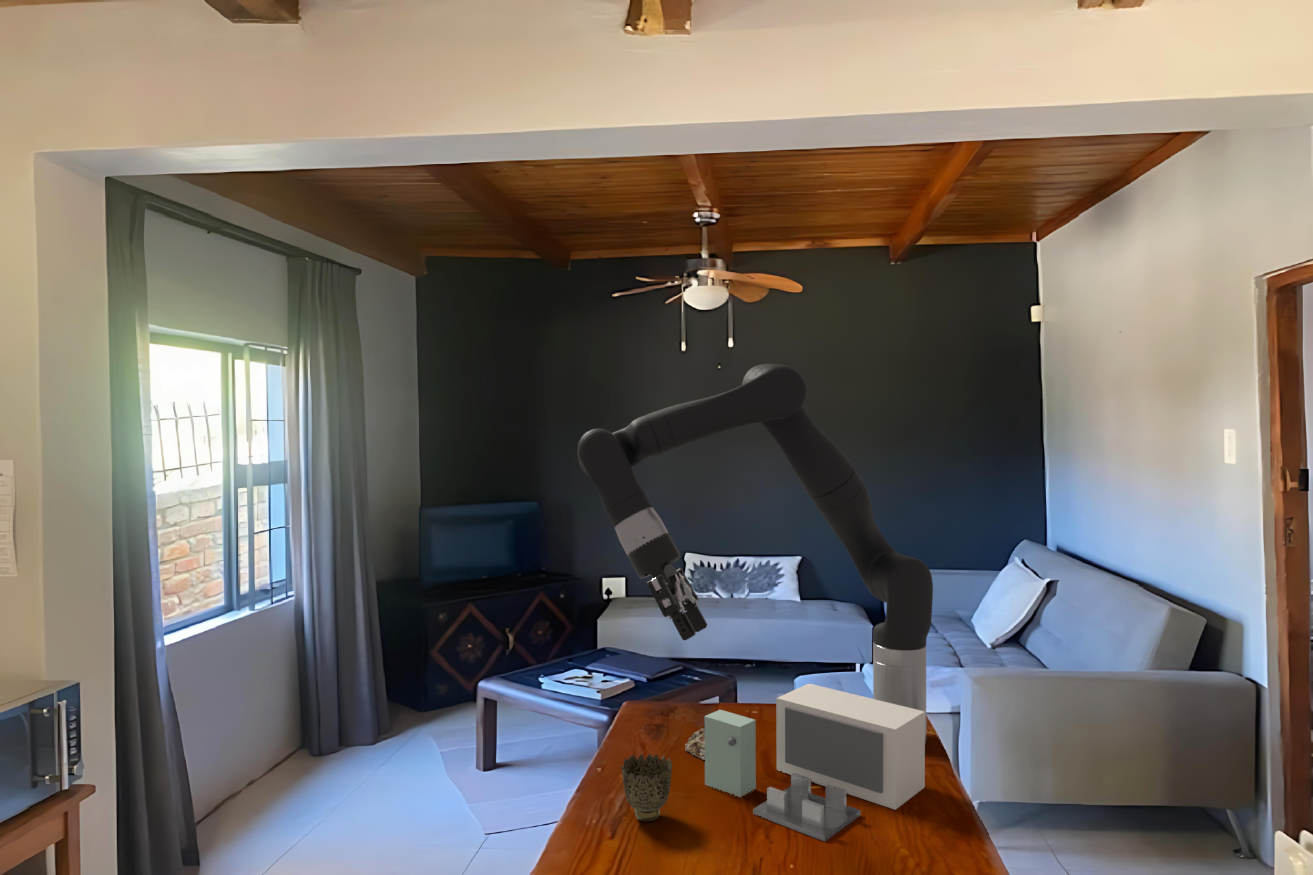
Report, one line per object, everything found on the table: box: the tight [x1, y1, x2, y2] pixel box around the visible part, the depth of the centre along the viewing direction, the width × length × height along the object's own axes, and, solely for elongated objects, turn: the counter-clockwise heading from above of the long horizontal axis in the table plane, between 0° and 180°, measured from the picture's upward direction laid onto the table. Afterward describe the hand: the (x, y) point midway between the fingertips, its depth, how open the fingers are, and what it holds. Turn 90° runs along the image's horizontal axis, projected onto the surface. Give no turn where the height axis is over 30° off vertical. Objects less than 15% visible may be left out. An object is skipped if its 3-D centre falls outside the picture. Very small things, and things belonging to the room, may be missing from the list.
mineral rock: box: [684, 727, 705, 761], centre depth 146 cm, size 11×4×8 cm
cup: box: [620, 753, 673, 822], centre depth 122 cm, size 8×7×8 cm
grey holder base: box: [752, 773, 861, 842], centre depth 122 cm, size 10×12×4 cm
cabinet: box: [775, 683, 926, 810], centre depth 134 cm, size 10×21×12 cm, turn 48°
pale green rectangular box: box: [703, 709, 757, 798], centre depth 131 cm, size 5×7×11 cm
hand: (696, 633), depth 131 cm, fingers open, 8 cm apart
